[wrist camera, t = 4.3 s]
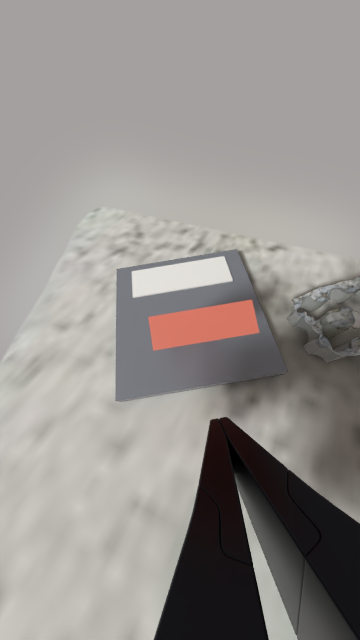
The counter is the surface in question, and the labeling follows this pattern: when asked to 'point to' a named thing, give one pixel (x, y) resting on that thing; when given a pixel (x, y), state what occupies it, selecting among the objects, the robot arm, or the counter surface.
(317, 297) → the grey lumpy stone piece
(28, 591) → the counter surface
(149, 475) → the counter surface
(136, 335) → the base
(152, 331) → the lever
